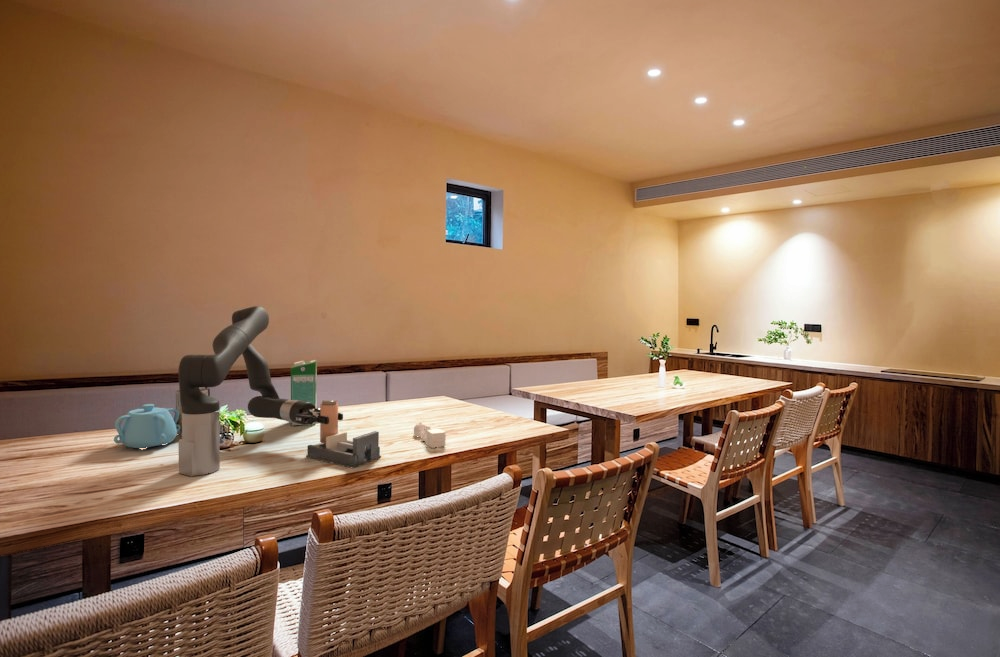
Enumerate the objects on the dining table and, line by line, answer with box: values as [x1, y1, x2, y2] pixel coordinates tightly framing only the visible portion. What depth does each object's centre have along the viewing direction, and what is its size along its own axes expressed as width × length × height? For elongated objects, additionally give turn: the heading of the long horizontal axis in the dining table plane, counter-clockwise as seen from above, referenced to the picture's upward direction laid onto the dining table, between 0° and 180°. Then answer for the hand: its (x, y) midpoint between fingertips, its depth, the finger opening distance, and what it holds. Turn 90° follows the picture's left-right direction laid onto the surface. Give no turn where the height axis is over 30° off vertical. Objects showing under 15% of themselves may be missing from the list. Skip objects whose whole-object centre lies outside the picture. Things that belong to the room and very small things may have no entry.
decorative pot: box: [113, 403, 180, 449], centre depth 166 cm, size 16×16×14 cm
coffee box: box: [174, 387, 211, 436], centre depth 181 cm, size 9×6×16 cm
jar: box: [319, 398, 339, 443], centre depth 161 cm, size 5×5×13 cm
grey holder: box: [305, 430, 382, 469], centre depth 158 cm, size 12×20×8 cm, turn 63°
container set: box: [413, 421, 447, 449], centre depth 180 cm, size 20×5×6 cm, turn 30°
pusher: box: [326, 431, 366, 452], centre depth 157 cm, size 7×12×6 cm, turn 63°
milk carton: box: [290, 359, 318, 427], centre depth 200 cm, size 9×9×25 cm
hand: (335, 418), depth 160 cm, fingers closed on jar, 5 cm apart
